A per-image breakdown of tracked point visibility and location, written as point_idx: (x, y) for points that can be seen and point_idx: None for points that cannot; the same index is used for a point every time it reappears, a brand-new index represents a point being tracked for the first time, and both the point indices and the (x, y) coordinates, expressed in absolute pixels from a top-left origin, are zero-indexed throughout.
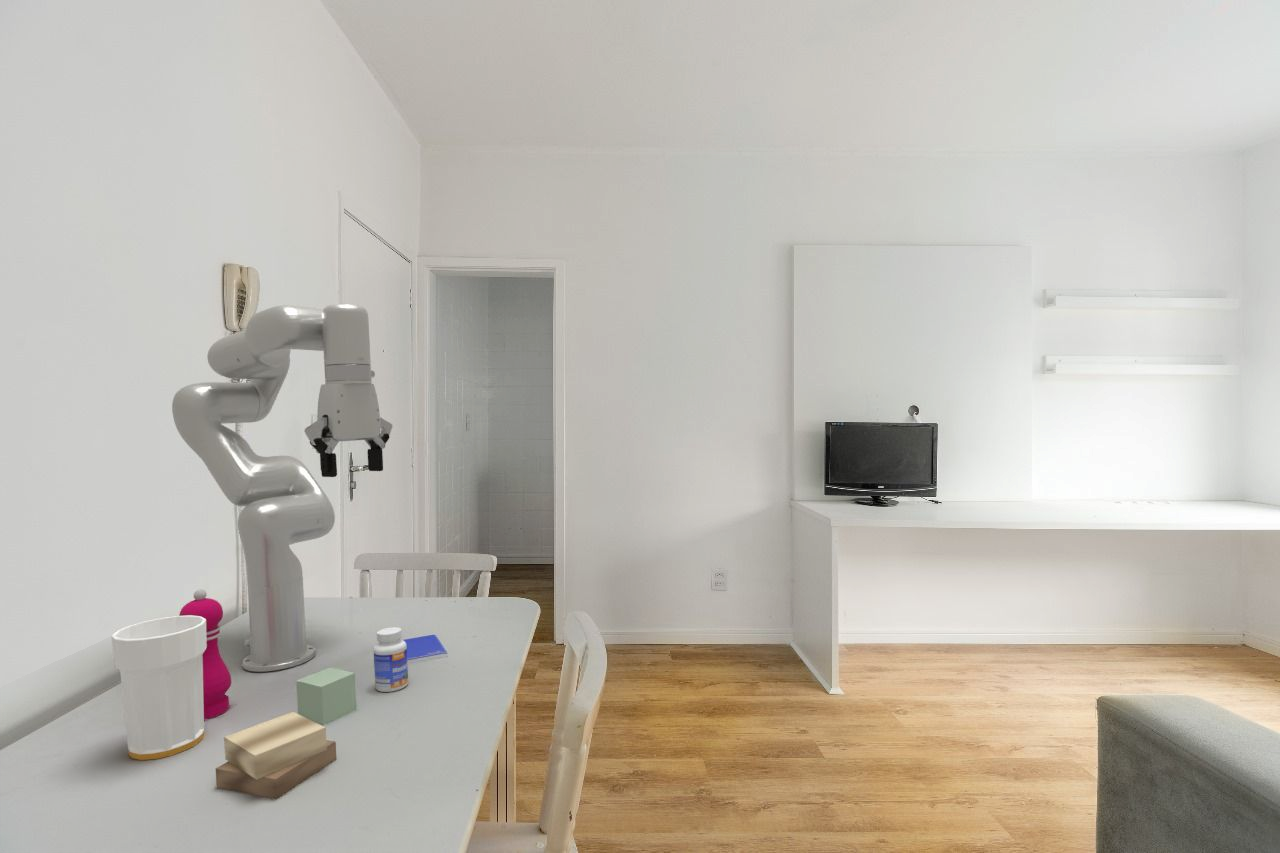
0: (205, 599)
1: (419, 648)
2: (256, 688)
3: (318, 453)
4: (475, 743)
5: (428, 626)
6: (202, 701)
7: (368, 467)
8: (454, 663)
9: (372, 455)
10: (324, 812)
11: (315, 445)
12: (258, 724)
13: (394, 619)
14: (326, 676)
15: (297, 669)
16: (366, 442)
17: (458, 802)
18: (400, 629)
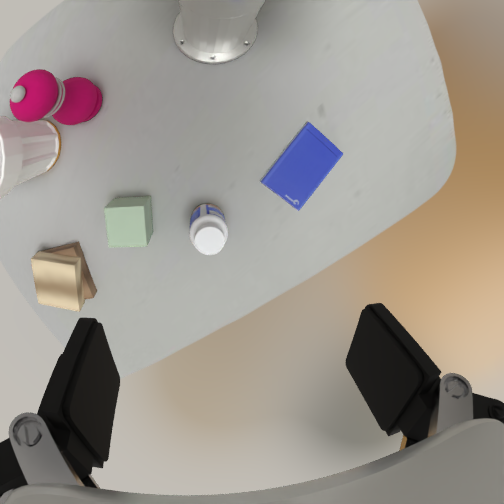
0: (23, 100)
1: (297, 172)
2: (142, 83)
3: (28, 413)
4: (165, 349)
5: (371, 116)
6: (44, 160)
7: (369, 316)
8: (282, 231)
9: (389, 383)
10: (70, 329)
11: (1, 461)
12: (50, 262)
13: (376, 58)
14: (126, 227)
15: (201, 72)
16: (436, 420)
17: (119, 374)
18: (219, 250)
